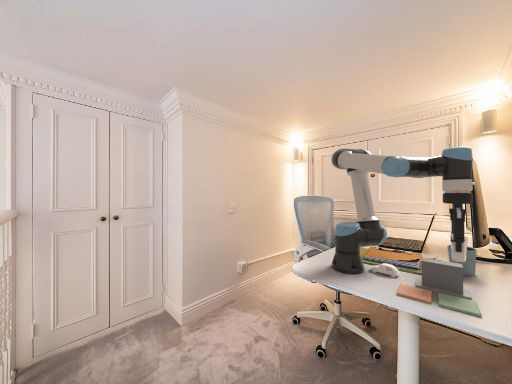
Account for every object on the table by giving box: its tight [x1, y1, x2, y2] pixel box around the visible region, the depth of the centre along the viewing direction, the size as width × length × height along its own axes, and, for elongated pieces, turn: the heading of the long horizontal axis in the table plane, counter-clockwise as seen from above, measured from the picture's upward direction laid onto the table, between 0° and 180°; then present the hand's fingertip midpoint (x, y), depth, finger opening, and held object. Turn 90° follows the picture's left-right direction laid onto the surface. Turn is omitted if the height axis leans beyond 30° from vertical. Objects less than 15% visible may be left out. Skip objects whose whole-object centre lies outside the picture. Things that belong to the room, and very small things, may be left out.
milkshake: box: [447, 232, 469, 262], centre depth 71 cm, size 4×5×10 cm
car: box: [369, 262, 401, 278], centre depth 99 cm, size 12×6×5 cm, turn 48°
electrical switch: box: [429, 255, 440, 260], centre depth 93 cm, size 9×5×9 cm, turn 141°
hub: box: [415, 257, 473, 301], centre depth 82 cm, size 16×8×11 cm, turn 49°
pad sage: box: [437, 292, 483, 318], centre depth 71 cm, size 10×10×1 cm
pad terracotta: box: [396, 283, 433, 305], centre depth 79 cm, size 10×10×1 cm
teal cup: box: [446, 244, 478, 277], centre depth 100 cm, size 10×10×12 cm
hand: (457, 259), depth 71 cm, fingers closed on milkshake, 4 cm apart
